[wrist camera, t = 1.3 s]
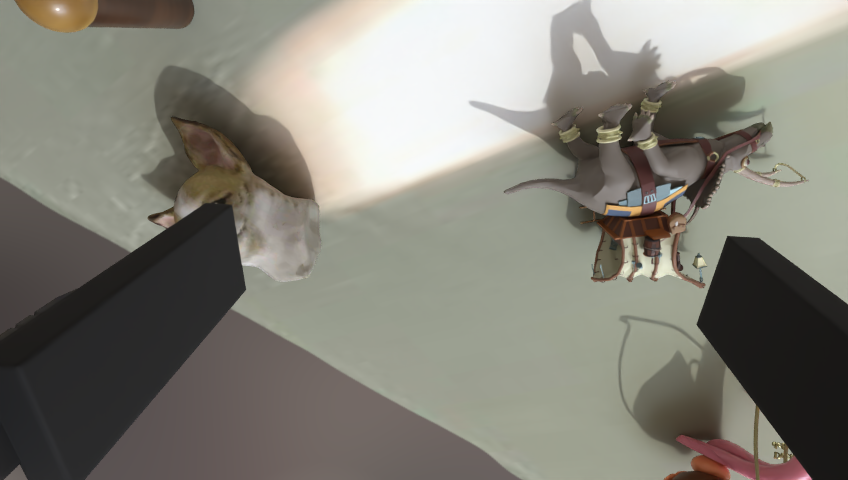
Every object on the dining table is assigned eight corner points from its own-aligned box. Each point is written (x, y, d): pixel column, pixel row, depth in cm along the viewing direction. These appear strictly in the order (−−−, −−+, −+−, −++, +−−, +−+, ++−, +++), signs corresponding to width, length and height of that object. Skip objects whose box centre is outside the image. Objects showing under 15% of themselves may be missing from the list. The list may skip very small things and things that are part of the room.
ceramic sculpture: (276, 341, 34) (91, 251, 33) (317, 287, 42) (168, 213, 41) (326, 224, 30) (115, 118, 29) (361, 188, 38) (196, 104, 37)
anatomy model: (887, 408, 38) (891, 615, 32) (736, 404, 51) (719, 553, 45) (796, 353, 37) (782, 558, 31) (664, 363, 49) (635, 510, 43)
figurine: (832, 45, 26) (828, 288, 33) (763, 44, 32) (771, 252, 38) (494, 153, 29) (550, 356, 36) (485, 135, 35) (535, 314, 41)
